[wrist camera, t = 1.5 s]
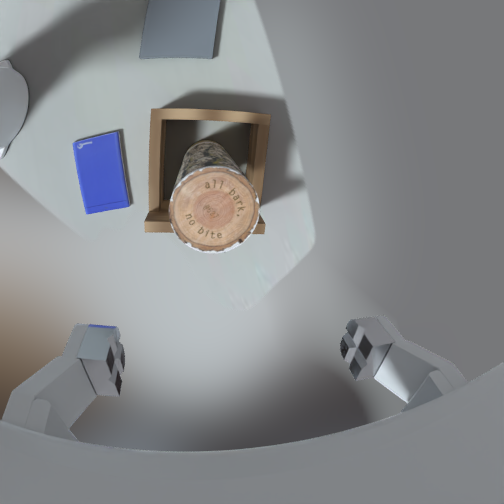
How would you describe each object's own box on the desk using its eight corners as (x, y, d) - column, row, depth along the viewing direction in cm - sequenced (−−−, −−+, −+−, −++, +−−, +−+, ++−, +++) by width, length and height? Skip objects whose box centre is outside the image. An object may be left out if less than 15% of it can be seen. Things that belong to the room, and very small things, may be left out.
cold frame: (154, 208, 45) (144, 232, 36) (157, 109, 38) (145, 107, 29) (251, 210, 48) (264, 234, 39) (261, 114, 41) (278, 114, 32)
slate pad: (140, 58, 33) (139, 57, 32) (150, 0, 28) (149, -2, 28) (211, 58, 35) (212, 57, 35) (220, 0, 31) (220, -2, 30)
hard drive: (71, 142, 36) (85, 214, 42) (117, 131, 37) (129, 207, 43) (75, 141, 37) (88, 211, 43) (120, 130, 38) (131, 204, 44)
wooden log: (208, 130, 41) (219, 147, 19) (236, 162, 44) (277, 214, 22) (175, 159, 42) (149, 211, 20) (203, 190, 45) (211, 269, 23)
